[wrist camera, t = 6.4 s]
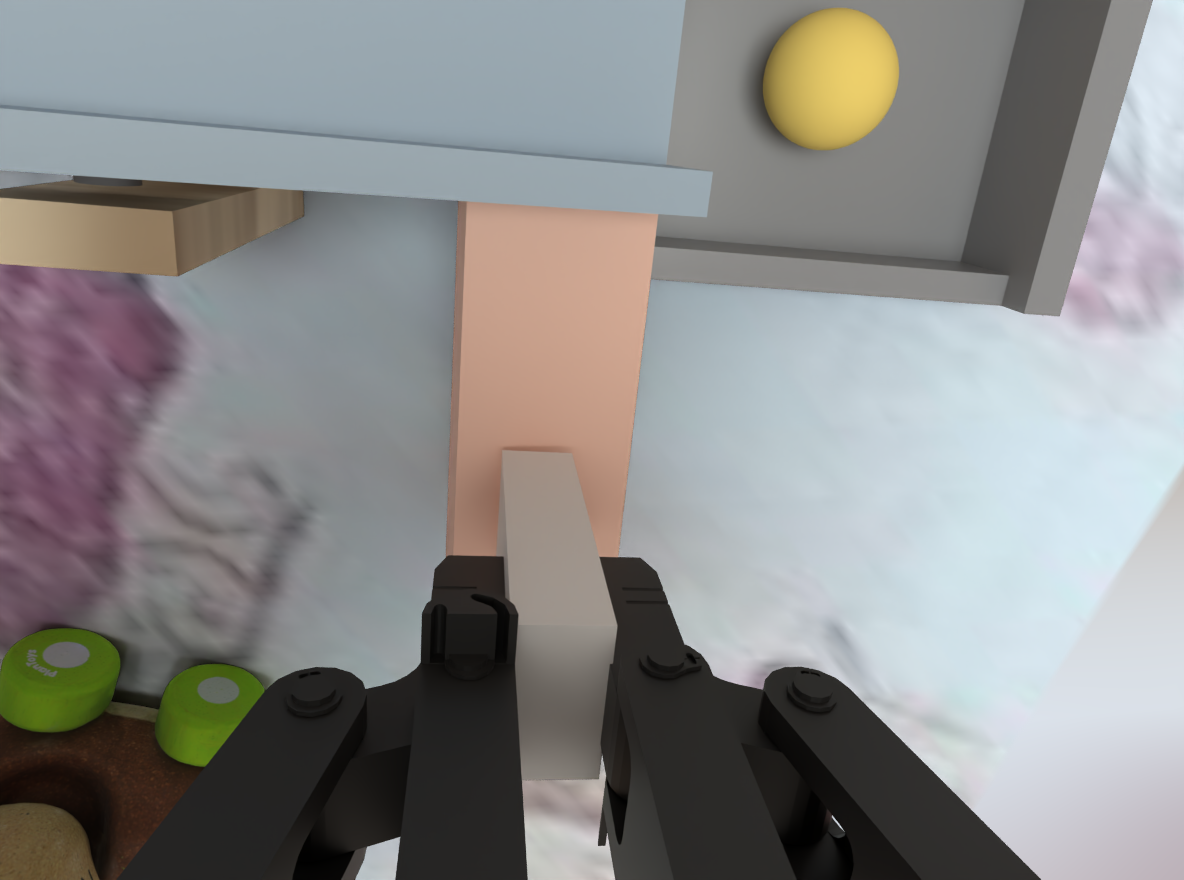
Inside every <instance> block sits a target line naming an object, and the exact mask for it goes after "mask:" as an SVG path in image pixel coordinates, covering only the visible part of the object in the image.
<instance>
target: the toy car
mask: <svg viewBox="0 0 1184 880" xmlns="http://www.w3.org/2000/svg"><path fill="white" fill-rule="evenodd" d="M119 672H120V658H119V653H118V651H117V650H116V648H115V647H114V646H113V645H112V644H111V642H109V641H108V640H106V639H105V638H103V637H102V636H100V635H98V634H96V633H93V632H90V631H87V630H82V629H72V628H59V629H48V630H44V631H39V632H36V633H34V634H31V635H29V636H27V637H25V638H23V639H21V640H20V641H18V642H17V643H16V644H15V645H14V646H12V647H11V648H10V649H9V651H8V652H7V654H6V655H5V657H4V659H3V661H2V666H1V671H0V880H116V879H117V878H118V877H119V876H120V874H121V873H122V872H123V870H124V869H125V868H126V867H127V865H128V864H129V863H130V862H131V860H132V859H133V858H134V857H135V855H136V854H137V853H138V851H139V850H140V849H141V848H142V846H143V845H144V844H145V843H146V841H147V840H148V839H149V837H150V836H151V835H152V834H153V832H154V831H155V830H156V829H157V827H158V826H159V825H160V824H161V822H162V821H163V820H164V818H165V817H166V816H167V815H168V813H169V812H170V811H171V810H172V808H173V807H174V806H175V804H176V803H177V802H178V801H179V799H180V798H181V797H182V796H183V794H184V793H185V792H186V790H187V789H188V788H189V787H190V785H191V784H192V783H193V782H194V780H195V779H196V778H197V777H198V775H199V774H200V773H201V771H202V770H203V769H204V768H205V766H206V765H207V764H208V763H209V761H210V760H211V759H212V757H213V756H214V755H215V754H216V752H217V751H218V750H219V749H220V747H221V746H222V745H223V744H224V742H225V741H226V740H227V738H228V737H229V736H230V735H231V733H232V732H233V731H234V730H235V728H236V727H237V726H238V724H239V723H240V722H241V721H242V719H243V718H244V717H245V716H246V714H247V713H248V712H249V710H250V709H251V708H252V707H253V705H254V704H255V703H256V702H257V700H258V699H259V698H260V697H261V695H262V694H263V693H264V691H265V690H264V688H263V686H262V684H261V683H260V682H259V681H258V680H257V679H256V678H255V677H254V676H253V675H252V674H250V673H249V672H247V671H245V670H243V669H241V668H239V667H235V666H230V665H226V664H205V665H198V666H194V667H191V668H189V669H187V670H185V671H183V672H181V673H180V674H178V675H177V676H175V677H174V678H173V679H172V680H171V681H170V682H169V684H168V685H167V687H166V689H165V691H164V694H163V697H162V700H161V704H160V708H159V710H158V709H153V708H149V707H143V706H137V705H131V704H125V703H118V702H111V700H112V698H113V694H114V690H115V687H116V683H117V679H118V675H119Z"/></svg>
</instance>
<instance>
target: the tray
mask: <svg viewBox="0 0 1184 880" xmlns="http://www.w3.org/2000/svg"><path fill="white" fill-rule="evenodd" d="M1152 1H1153V0H686V2H685V10H684V19H683V27H682V36H681V44H680V53H679V61H678V69H677V78H676V86H675V95H674V103H673V112H672V120H671V129H670V137H669V145H668V154H667V162H666V165H672V166H678V167H685V168H692V169H699V170H705V171H712V172H713V176H712V183H711V190H710V198H709V205H708V212H707V217H694V216H679V215H664V214H658V221H657V229H656V238H655V246H654V255H653V263H652V272H651V279H655V280H668V281H682V282H695V283H708V284H721V285H734V286H748V287H761V288H774V289H787V290H800V291H814V292H827V293H840V294H853V295H867V296H880V297H893V298H906V299H919V300H933V301H946V302H959V303H972V304H985V305H999V306H1004V307H1006V308H1009V309H1012V310H1015V311H1018V312H1021V313H1024V314H1036V315H1049V316H1060V313H1061V310H1062V306H1063V303H1064V299H1065V296H1066V293H1067V289H1068V286H1069V282H1070V279H1071V276H1072V272H1073V269H1074V266H1075V262H1076V259H1077V255H1078V252H1079V249H1080V245H1081V242H1082V238H1083V235H1084V232H1085V228H1086V225H1087V221H1088V218H1089V215H1090V211H1091V208H1092V205H1093V201H1094V198H1095V194H1096V191H1097V188H1098V184H1099V181H1100V177H1101V174H1102V171H1103V167H1104V164H1105V160H1106V157H1107V154H1108V150H1109V147H1110V144H1111V140H1112V137H1113V133H1114V130H1115V127H1116V123H1117V120H1118V116H1119V113H1120V110H1121V106H1122V103H1123V99H1124V96H1125V93H1126V89H1127V86H1128V82H1129V79H1130V76H1131V72H1132V69H1133V66H1134V62H1135V59H1136V55H1137V52H1138V49H1139V45H1140V42H1141V38H1142V35H1143V32H1144V28H1145V25H1146V21H1147V18H1148V15H1149V11H1150V8H1151V5H1152ZM828 8H849V9H853V10H858V11H860V12H863V13H865V14H867V15H869V16H870V17H872V18H873V19H875V20H876V21H877V22H878V23H879V24H881V25H882V27H883V28H884V29H885V30H886V32H887V33H888V34H889V36H890V38H891V39H892V41H893V44H894V46H895V49H896V52H897V56H898V62H899V80H898V86H897V90H896V94H895V97H894V99H893V102H892V104H891V106H890V108H889V110H888V112H887V113H886V115H885V116H884V118H883V119H882V121H881V122H880V123H879V124H878V125H877V126H876V127H875V128H874V129H873V130H872V131H871V132H870V133H869V134H867V135H866V136H865V137H863V138H862V139H860V140H859V141H857V142H855V143H853V144H851V145H849V146H846V147H842V148H839V149H834V150H813V149H808V148H804V147H802V146H799V145H797V144H795V143H793V142H791V141H790V140H788V139H787V138H786V137H784V136H783V135H782V134H781V133H780V132H779V130H778V129H777V128H776V127H775V125H774V124H773V123H772V121H771V119H770V117H769V115H768V112H767V109H766V107H765V102H764V97H763V78H764V72H765V67H766V64H767V61H768V58H769V56H770V54H771V51H772V50H773V48H774V46H775V44H776V43H777V41H778V40H779V38H780V37H781V36H782V35H783V34H784V32H785V31H786V30H788V29H789V28H790V27H791V26H792V25H793V24H794V23H796V22H797V21H798V20H800V19H801V18H803V17H805V16H807V15H809V14H811V13H814V12H816V11H819V10H823V9H828Z"/></svg>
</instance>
